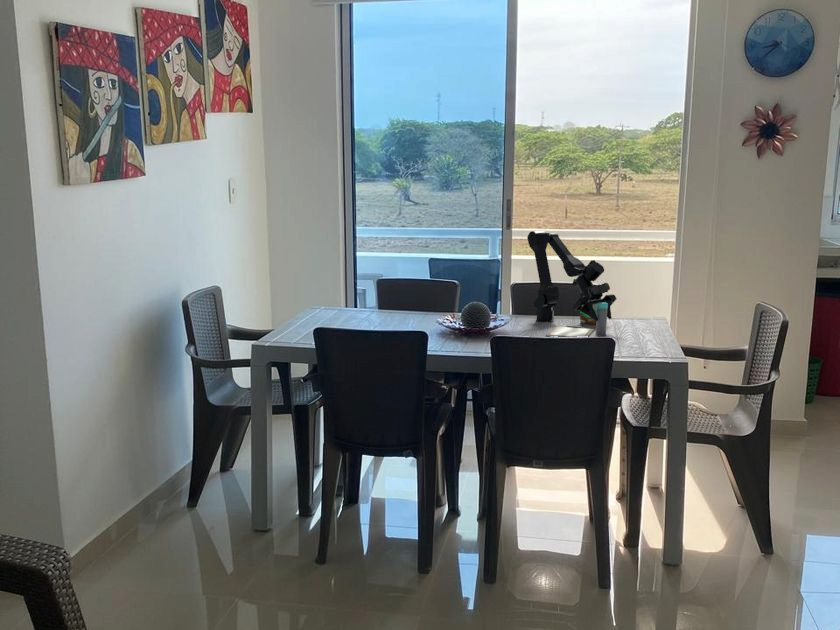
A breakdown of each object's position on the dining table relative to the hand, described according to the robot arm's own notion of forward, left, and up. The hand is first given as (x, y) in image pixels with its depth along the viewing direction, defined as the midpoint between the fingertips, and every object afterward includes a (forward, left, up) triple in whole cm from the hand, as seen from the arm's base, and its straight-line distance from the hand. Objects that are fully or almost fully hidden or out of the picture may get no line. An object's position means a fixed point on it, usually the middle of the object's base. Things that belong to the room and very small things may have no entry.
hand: (604, 319), depth 324 cm
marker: (-1, +1, -7) cm, 7 cm away
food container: (-7, +21, -7) cm, 23 cm away
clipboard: (-13, -1, -7) cm, 15 cm away
